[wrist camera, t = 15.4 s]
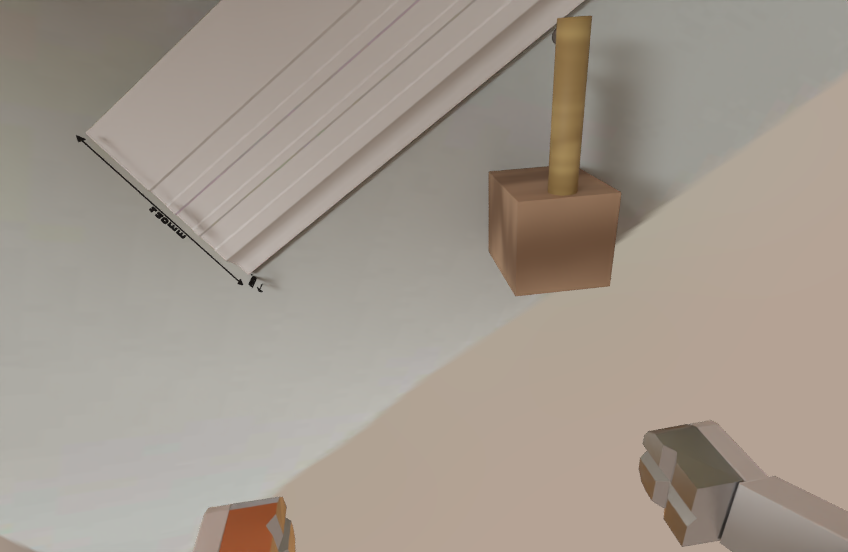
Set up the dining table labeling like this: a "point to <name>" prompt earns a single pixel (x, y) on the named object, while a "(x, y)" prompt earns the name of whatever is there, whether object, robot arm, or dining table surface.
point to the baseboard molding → (301, 106)
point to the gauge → (556, 193)
